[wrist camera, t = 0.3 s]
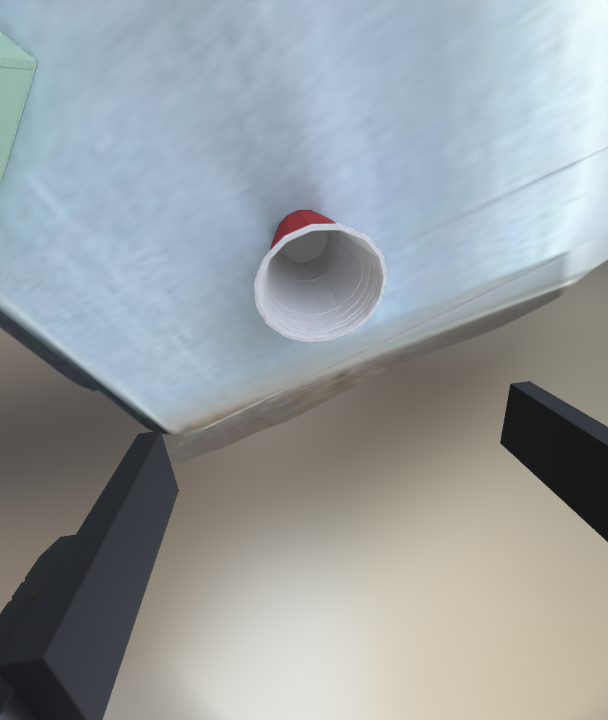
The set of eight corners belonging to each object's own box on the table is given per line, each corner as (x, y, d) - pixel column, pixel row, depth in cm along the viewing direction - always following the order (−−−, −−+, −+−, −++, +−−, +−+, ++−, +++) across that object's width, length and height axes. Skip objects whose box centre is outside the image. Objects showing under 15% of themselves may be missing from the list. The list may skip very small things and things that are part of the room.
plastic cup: (266, 294, 39) (271, 359, 29) (239, 197, 31) (235, 242, 22) (356, 275, 38) (389, 333, 29) (348, 172, 31) (389, 207, 22)
